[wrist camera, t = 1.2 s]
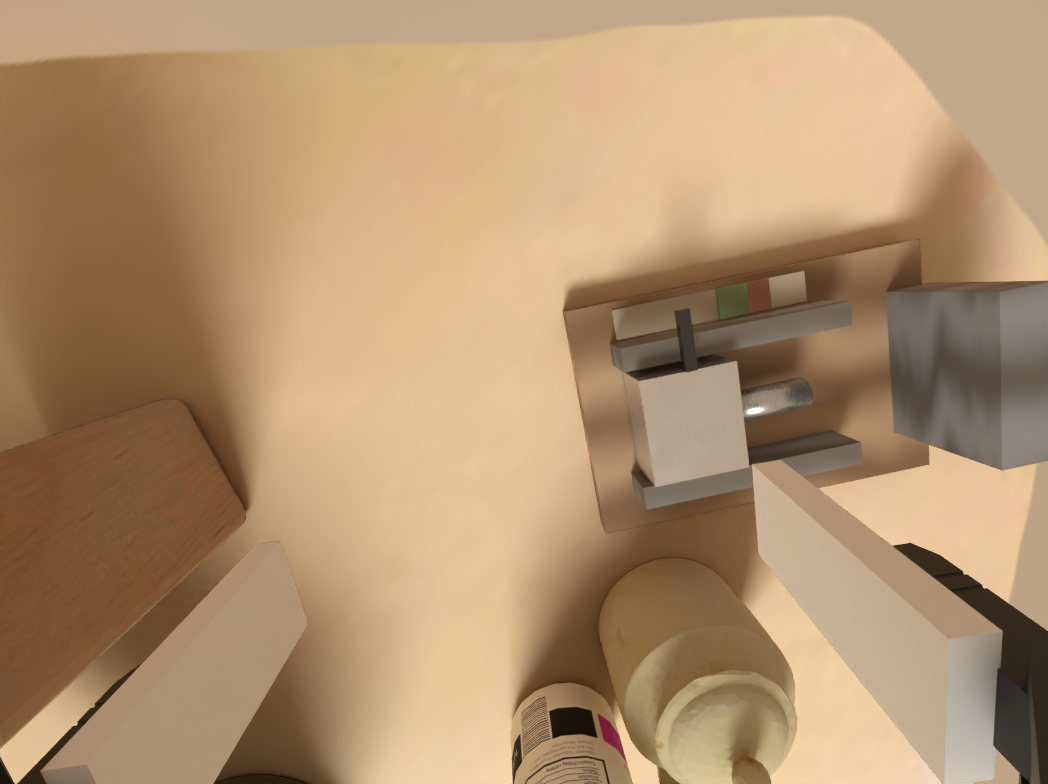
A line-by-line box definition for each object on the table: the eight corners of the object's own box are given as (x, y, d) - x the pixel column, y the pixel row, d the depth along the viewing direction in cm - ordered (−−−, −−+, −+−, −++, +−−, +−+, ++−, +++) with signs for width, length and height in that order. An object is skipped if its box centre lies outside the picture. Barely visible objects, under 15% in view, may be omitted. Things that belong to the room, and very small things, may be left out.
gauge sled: (791, 433, 36) (834, 454, 32) (637, 465, 36) (659, 491, 31) (776, 283, 34) (820, 281, 29) (613, 316, 34) (632, 320, 29)
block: (186, 390, 35) (-209, 517, 15) (257, 517, 37) (-12, 773, 17) (51, 446, 35) (-508, 642, 15) (129, 569, 37) (-280, 882, 17)
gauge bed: (919, 456, 39) (1053, 508, 30) (601, 524, 38) (636, 598, 29) (908, 240, 36) (1055, 221, 26) (562, 311, 35) (587, 318, 26)
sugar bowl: (766, 689, 42) (911, 902, 27) (639, 738, 42) (717, 976, 28) (711, 533, 39) (842, 679, 24) (575, 587, 39) (625, 763, 25)
